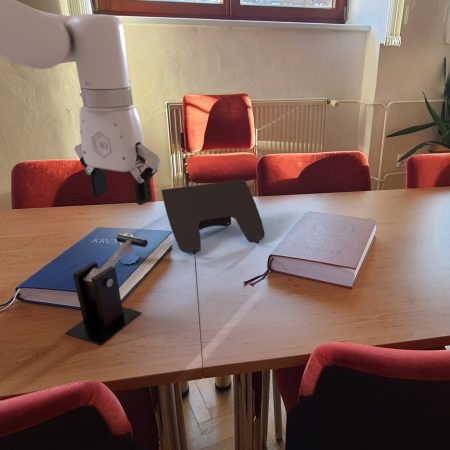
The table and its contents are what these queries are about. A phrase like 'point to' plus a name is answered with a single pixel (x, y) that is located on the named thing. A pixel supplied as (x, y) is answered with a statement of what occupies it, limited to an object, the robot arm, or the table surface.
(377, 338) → the table surface
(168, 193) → the laptop tray
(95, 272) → the lever
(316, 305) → the table surface
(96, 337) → the bracket
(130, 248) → the rook chess piece
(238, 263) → the table surface
